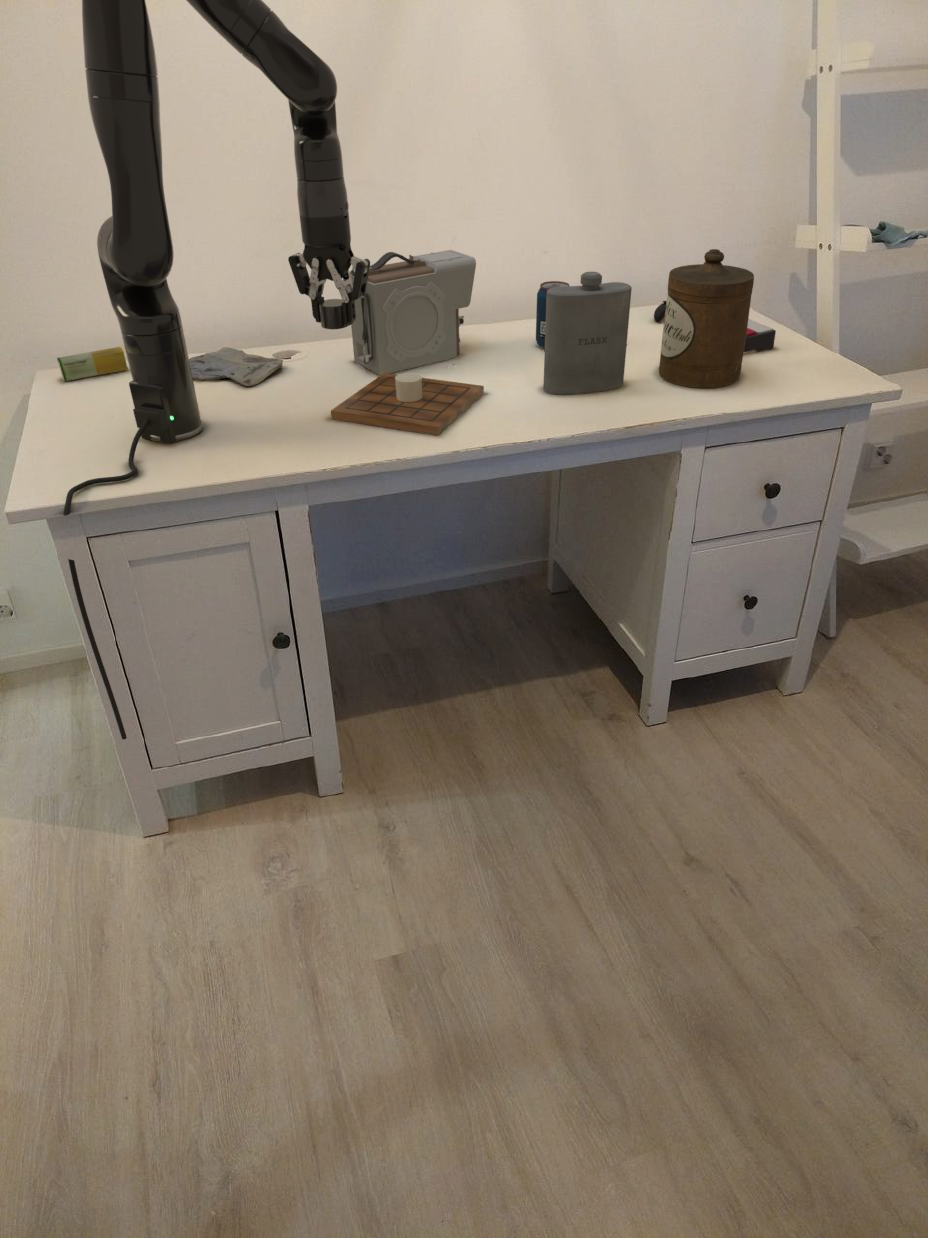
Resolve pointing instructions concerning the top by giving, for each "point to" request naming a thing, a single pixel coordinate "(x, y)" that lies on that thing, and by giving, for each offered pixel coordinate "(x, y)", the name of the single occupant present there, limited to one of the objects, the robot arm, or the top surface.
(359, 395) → the board
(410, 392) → the ivory stone
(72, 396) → the top surface
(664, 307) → the dark grey oval piece
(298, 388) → the top surface
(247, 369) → the fossil rock
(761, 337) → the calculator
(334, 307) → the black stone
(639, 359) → the top surface
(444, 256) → the portable television
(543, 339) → the soda can
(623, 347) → the flask
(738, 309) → the wooden container
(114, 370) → the medication box
